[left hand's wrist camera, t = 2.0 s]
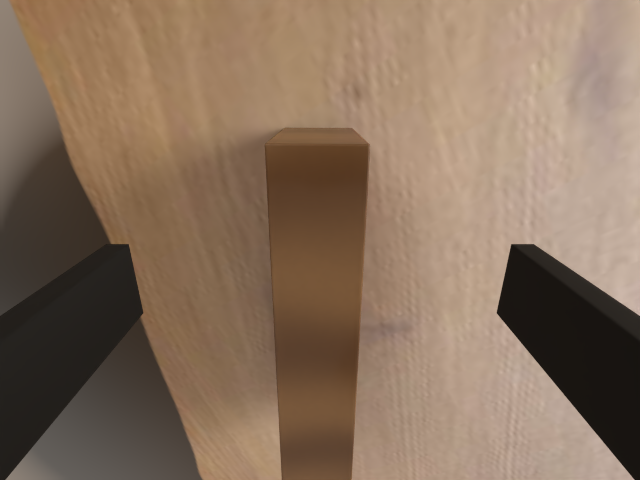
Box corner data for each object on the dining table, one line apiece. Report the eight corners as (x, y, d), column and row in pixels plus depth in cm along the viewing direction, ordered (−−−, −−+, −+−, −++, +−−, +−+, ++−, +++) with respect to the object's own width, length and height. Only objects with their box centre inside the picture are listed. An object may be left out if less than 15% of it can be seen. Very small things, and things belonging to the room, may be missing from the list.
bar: (284, 127, 24) (264, 143, 16) (353, 128, 24) (370, 144, 16) (292, 387, 33) (282, 488, 24) (343, 387, 33) (351, 488, 24)
